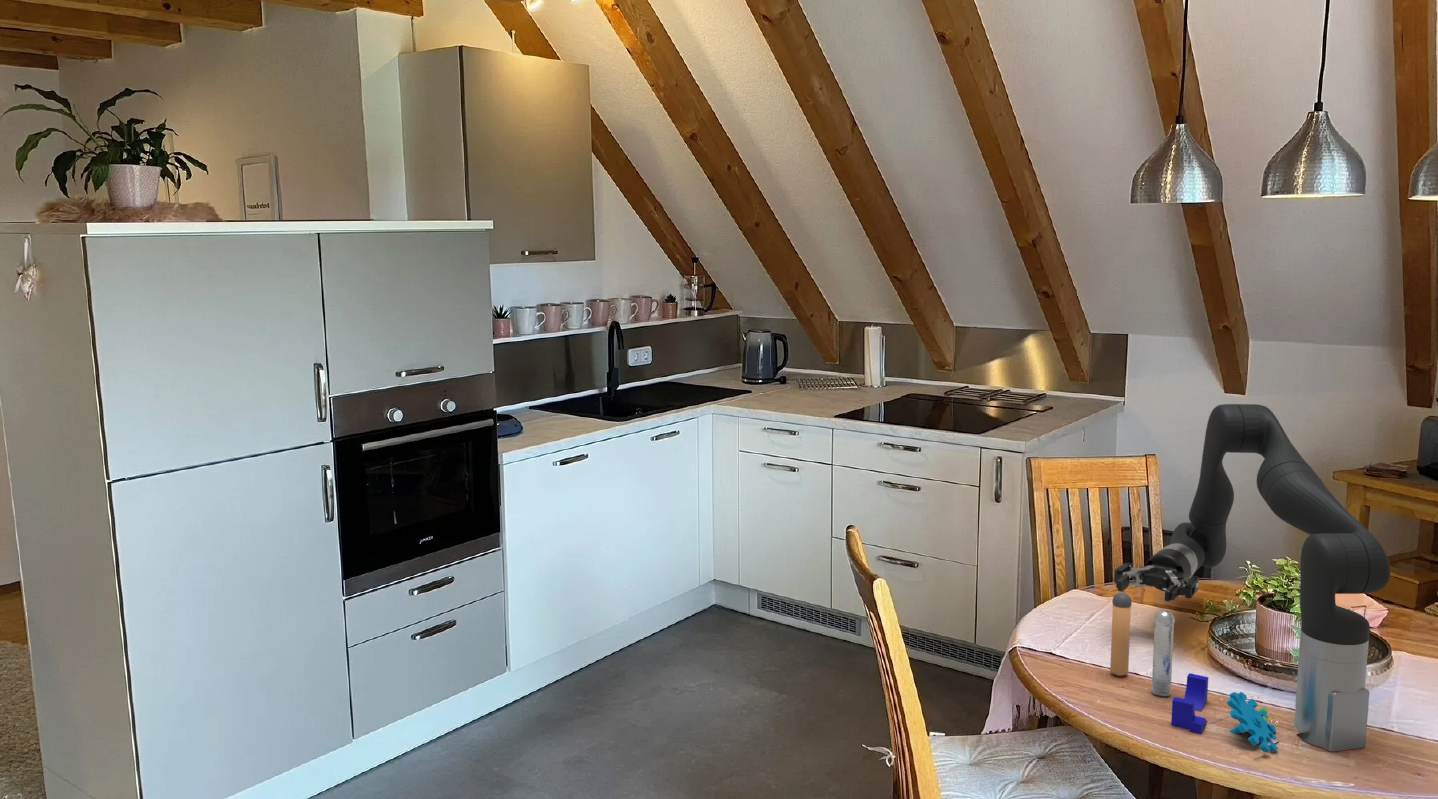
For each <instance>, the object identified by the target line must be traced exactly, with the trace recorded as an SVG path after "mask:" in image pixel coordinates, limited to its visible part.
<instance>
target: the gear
mask: <svg viewBox="0 0 1438 799" xmlns="http://www.w3.org/2000/svg"><path fill="white" fill-rule="evenodd" d="M1228 696H1229V698H1230V699H1227V701H1226V704H1227V706H1229V707H1230V708H1231V710H1229V715H1230V718H1232V719H1233V720H1236V721H1238V722H1239V724H1237V726H1236V727H1234V728H1232V729H1230V730H1229V732H1230V733H1231V734H1234V735H1239V734H1244V733H1245V732H1246V733H1249V734H1250V735H1251V736H1249V737H1248V741H1249V742H1250V744H1251V745H1252V746H1256V745H1259V749H1260V750H1261V751H1262V752H1263V753H1264V754H1265V753H1268V752H1270V753H1274V752H1275V751H1277V750H1278V751H1279V748H1278V746H1277V745H1278V744H1280V741H1276V740H1277V738H1278V737H1277V736H1276V735H1275V733H1276V732H1277V729H1276V726H1275V725H1274V724H1272V723H1269V721H1268V719H1269V716H1268V713H1269V710H1268V709H1267V708H1266V707H1265V706H1263V707H1262V708H1260V709H1259V708H1258V710H1256V708H1257V707H1258V706H1259V705H1258V703H1257V702H1256V701H1255V699H1254V698H1251V699H1249V700H1247V699H1248V697H1247V694H1245V693H1244V692H1243V691H1240V692H1237V691H1234V692H1231V693H1229V695H1228ZM1273 741H1276V742H1273ZM1259 743H1260V744H1259ZM1268 743H1269V744H1268ZM1273 751H1274V752H1273Z"/></svg>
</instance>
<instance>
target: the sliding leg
mask: <svg viewBox="0 0 1438 799" xmlns="http://www.w3.org/2000/svg"><path fill="white" fill-rule="evenodd" d="M1111 602H1112V611H1111V612H1112V614H1111V616H1112V617H1111V618H1112V619H1111V641H1110V642H1111V644H1110V663H1109V664H1110V666H1109V667H1110V669H1109V671H1110V673H1112V674H1114V675H1116V676H1118V677H1122V676H1125V675H1128V674H1129V663H1130V662H1129V661H1130V636H1131V615H1132V614H1131V610H1132V604H1133V601H1132V599H1131V596H1129V595H1128V594H1127V593H1125V592H1118V593H1116V594H1115V595H1114V596H1113V597H1112V601H1111Z"/></svg>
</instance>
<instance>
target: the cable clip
mask: <svg viewBox="0 0 1438 799" xmlns="http://www.w3.org/2000/svg"><path fill="white" fill-rule="evenodd" d="M1185 685H1186V687H1185V694H1184V698H1182V697H1178V696H1174V697H1173V699H1172V703H1171V704H1172V705H1171V720H1170V721H1171V722H1170V723H1171V724H1170V725H1171V726H1172V727H1177V728H1180V729H1186V730H1188V732H1190V733H1194V734H1198V735H1202V734H1203V730H1205V728H1206V726H1207V723H1208V720H1207V719H1206V718H1205V717H1201V716H1197V715H1196V712H1199V713H1202V711H1203V710H1204V708H1205V705H1206V704H1207V702H1208V689H1209V676H1204V675H1200V674H1195V673H1192V672H1191V673H1190V672H1189V673H1188V674H1187V676H1186V684H1185Z"/></svg>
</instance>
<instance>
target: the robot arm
mask: <svg viewBox="0 0 1438 799" xmlns="http://www.w3.org/2000/svg"><path fill="white" fill-rule="evenodd" d="M1204 436H1205V437H1204V443H1203V448H1202V457H1201V463H1200V464H1201V465H1200V472H1199V473H1200V474H1199V479H1198V484H1197V488H1196V492H1195V494H1194V497H1193V501H1192V504H1191V506H1190V509H1189V513H1188V519H1189V522H1188V521H1187V522H1181V523H1180V524H1178V525H1177V526H1176V527H1175V528H1174V530H1173V532H1172V534H1171V538H1170V543H1169V544H1168V545H1166V546H1164V547H1163V548H1160V550H1158V551H1156V553H1154V554H1153V555H1152V556H1151V557H1150V558H1149V559H1148V560H1147V561H1146V562H1145V565H1144V566H1140V567H1137V568H1135V567H1133V566H1132V565H1133V564H1132V563H1131V562H1125V563H1122V565H1120V566H1118V567H1117V568H1115V569H1114V577H1113V578H1114V579H1113V583H1115V585H1116V586H1115V588H1116V589H1117V591H1118V592H1119V593H1124V591H1125V590H1126V589H1127V588H1129V587H1132V586H1134V587H1136V588H1137V589H1138V588H1146V587H1149V588H1155V589H1157V590H1158V591H1160V592H1164V602H1167V603H1170V602H1171V601H1174V600H1176V599H1178V598H1181V597H1182V596H1184V598H1186V599H1188V600H1189V599H1193V597H1194V595H1196V593H1197V592H1198V591H1199V584H1200V580H1199V579H1200V577H1199V576H1197V575H1194V574H1195V573H1196V571H1198V570H1199V569H1200V568H1201V567H1206V568H1213V567H1216V566H1218V565H1220V563H1222V561H1223V559H1224V558H1225V555H1226V553H1227V552H1226V551H1227V523H1228V522H1227V521H1228V518H1229V516H1230V512H1231V510H1232V508H1233V504H1234V501H1235V492H1234V488H1233V485H1232V482H1231V480H1230V478H1229V477H1228V474H1227V472H1226V470H1225V467H1224V465H1223V464H1224V463H1223V461H1224V457H1225V455H1226V454H1227V453H1231V454H1232V453H1233V454H1234V453H1238V454H1243V453H1244V454H1247V453H1248V454H1257V455H1260V456H1261V457H1262V458H1263V461H1262V462H1261V464H1260V466H1259V469H1258V471H1257V474H1256V488H1257V490H1258V492H1259V495H1260V496H1261V498H1262V499H1263V500H1264V501H1265V503H1266V504H1267V506H1268V507H1269V509H1270V510H1271V511H1272V513H1273V514H1274V515H1275V516H1276V517H1278V519H1280V520H1282V521H1283V522H1285V523H1287V524H1288V525H1289V526H1292V527H1294V528H1295V529H1297V530H1300V531H1302V532H1303V533H1306V534H1308V536H1307V537H1306V539H1305V540H1304V542H1303V544H1302V548H1301V553H1300V563H1299V564H1300V573H1299V574H1300V576H1299V577H1300V585H1299V587H1300V588H1299V591H1300V592H1299V593H1300V594H1299V609H1300V619H1301V622H1300V634H1299V636H1300V638H1299V649H1298V663H1297V664H1298V665H1297V678H1296V679H1297V680H1296V692H1295V704H1294V705H1295V706H1294V721H1293V722H1294V724H1293V725H1294V727H1295V729H1296V731H1298V732H1299V733H1296V736H1297V737H1298V738H1299V739H1300V740H1303V741H1304V742H1306V743H1309V744H1311V745H1314V746H1317V747H1319V748H1323V749H1325V750H1327V751H1328V752H1338V751H1347V750H1355V749H1364V748H1366V739H1367V727H1368V715H1369V703H1370V702H1369V701H1370V690H1369V689H1367V688H1366V676H1367V666H1368V664H1367V662H1368V653H1369V640H1370V632H1371V631H1370V629H1371V627H1370V622H1369V621H1368V619H1367V618H1366V617H1364V616H1363V615H1362V614H1360V613H1358V612H1356V611H1355V610H1354V611H1353V610H1351V609H1348V608H1345V607H1341V606H1340V605H1336V604H1337V603H1336V595H1337V594H1338V595H1344V594H1345V595H1355V594H1356V595H1360V594H1361V595H1362V594H1365V595H1366V594H1372V593H1376V592H1380V591H1381V590H1383V589H1384V588H1386V586H1387V585H1388V583H1389V581H1390V579H1391V572H1392V571H1391V565H1390V564H1391V563H1390V561H1389V560H1390V559H1389V557H1388V555H1387V553H1386V551H1385V548H1384V547H1383V546H1382V544H1381V543H1380V541H1379V540H1378V539H1377V537H1376V536H1375V535H1374V534H1373V533H1372V532H1371V531H1370V530H1368V529H1367V527H1365V525H1363V524H1362V523H1361V522H1360V521H1358V520H1357V519H1356V517H1355V516H1353V514H1351V513H1350V512H1349V511H1348V510H1347V509H1346V508H1345V507H1344V506H1343V505H1342V504H1341V502H1340V501H1339V500H1338V499H1337V498H1336V497H1335V495H1334V494H1333V493H1332V492H1331V491H1330V490H1329V488H1327V486H1326V484H1325V483H1324V482H1323V481H1322V479H1321V478H1320V476H1319V474H1317V473H1316V472H1315V470H1314V469H1313V468H1312V467H1311V466H1310V465H1309V463H1308V462H1307V461H1306V460H1305V459H1304V458H1303V456H1302V455H1301V454H1300V452H1298V449H1296V447H1295V446H1294V445H1293V443H1292V442H1291V440H1290V439H1289V437H1288V435H1287V433H1286V432H1285V430H1284V428H1283V427H1282V425H1281V423H1280V421H1279V419H1278V418H1277V416H1276V414H1274V412H1273V411H1272V410H1271V409H1270V408H1268V407H1267V406H1266V405H1263V404H1257V403H1255V404H1254V403H1251V404H1250V403H1249V404H1247V403H1244V404H1243V403H1237V404H1236V403H1226V404H1225V403H1224V404H1219V405H1218V404H1217V405H1216V406H1215V407H1214V408H1213V409H1212V411H1211V412H1210V414H1209V417H1208V419H1207V424H1206V429H1205V435H1204ZM1131 578H1132V580H1130V579H1131Z"/></svg>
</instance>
